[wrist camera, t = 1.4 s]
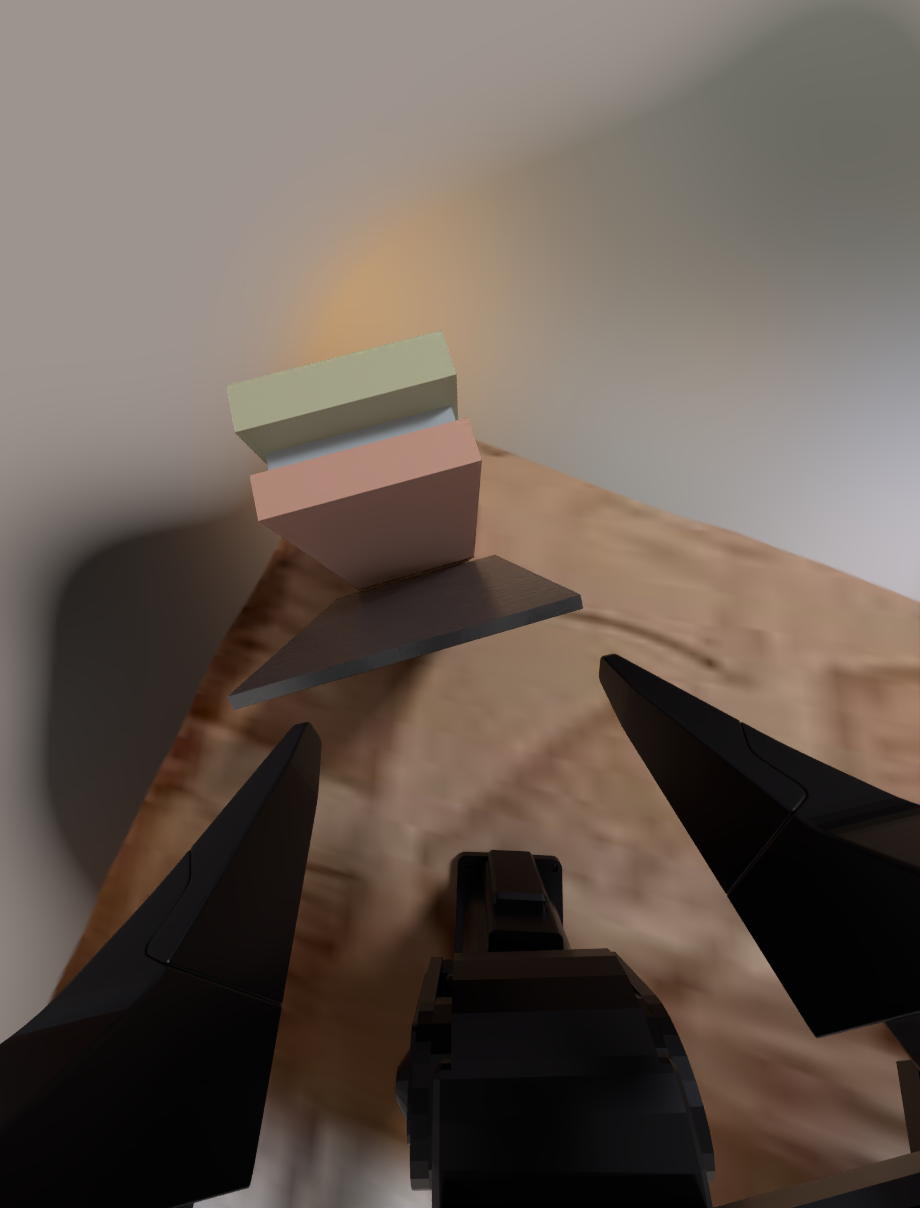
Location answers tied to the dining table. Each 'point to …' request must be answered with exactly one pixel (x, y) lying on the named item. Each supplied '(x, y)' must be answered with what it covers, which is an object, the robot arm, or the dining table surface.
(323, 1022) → the dining table surface
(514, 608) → the bookend
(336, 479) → the book row
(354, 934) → the dining table surface
